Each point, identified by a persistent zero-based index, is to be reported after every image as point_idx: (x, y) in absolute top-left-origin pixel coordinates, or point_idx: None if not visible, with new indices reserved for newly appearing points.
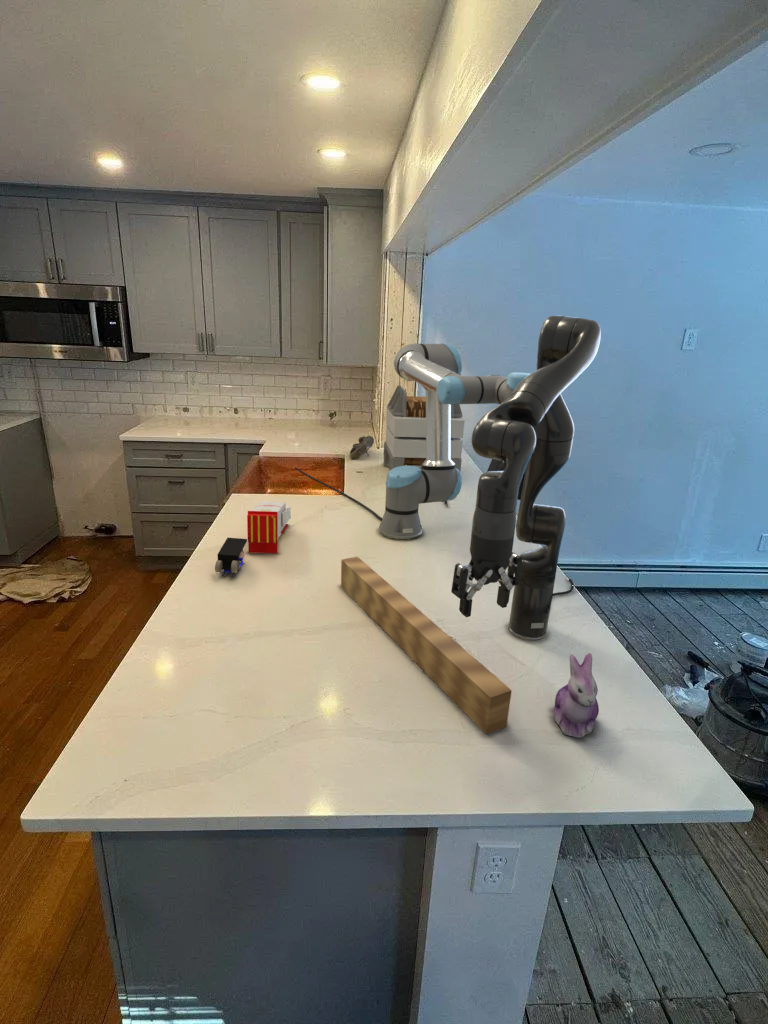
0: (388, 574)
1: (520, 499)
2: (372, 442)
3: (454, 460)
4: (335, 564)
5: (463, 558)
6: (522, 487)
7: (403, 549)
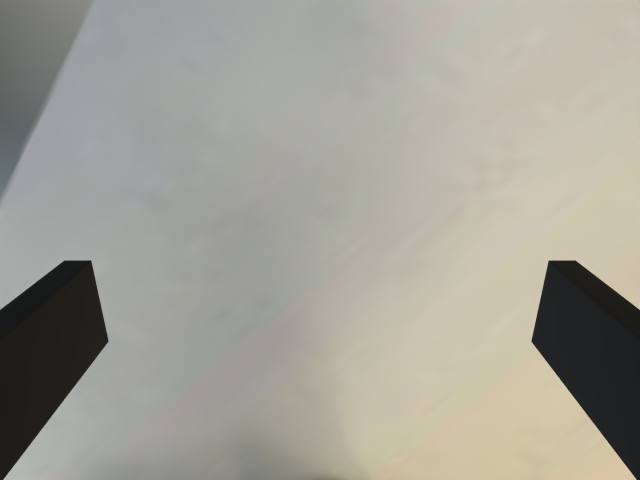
0: None
1: (95, 303)
2: None
3: None
4: None
5: (298, 319)
6: (5, 391)
7: (407, 451)
